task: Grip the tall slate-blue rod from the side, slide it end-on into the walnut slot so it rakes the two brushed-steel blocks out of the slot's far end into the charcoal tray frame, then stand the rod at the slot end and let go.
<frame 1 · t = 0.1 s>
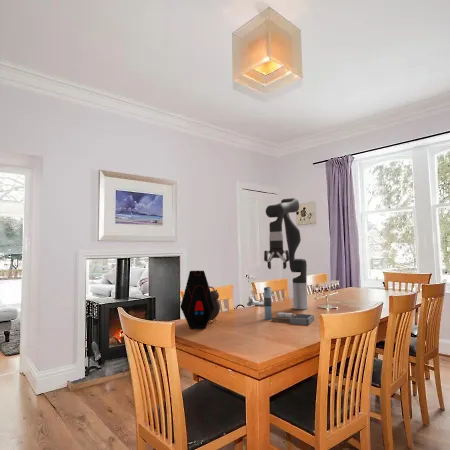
hand: (277, 268, 191), 29 cm above the table, tool pointing down, fingers open, 8 cm apart
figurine: (198, 328, 179), on the table
chip near: (281, 320, 193), on the table
rod: (268, 319, 197), on the table
chip far: (289, 320, 191), on the table
phone holder: (261, 305, 246), on the table
slot rails: (284, 320, 192), on the table
tray: (302, 321, 187), on the table
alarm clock: (207, 322, 193), on the table
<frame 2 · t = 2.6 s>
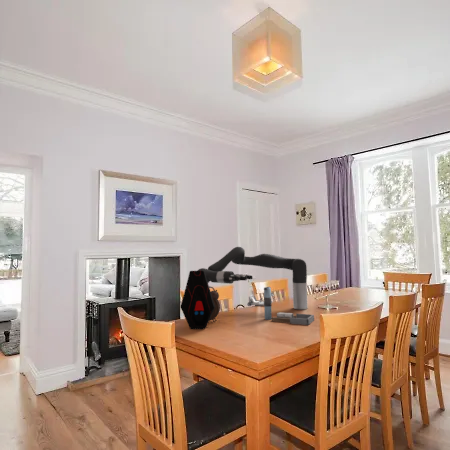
hand: (249, 277, 203), 23 cm above the table, tool horizontal, fingers open, 8 cm apart
nothing on the table moved.
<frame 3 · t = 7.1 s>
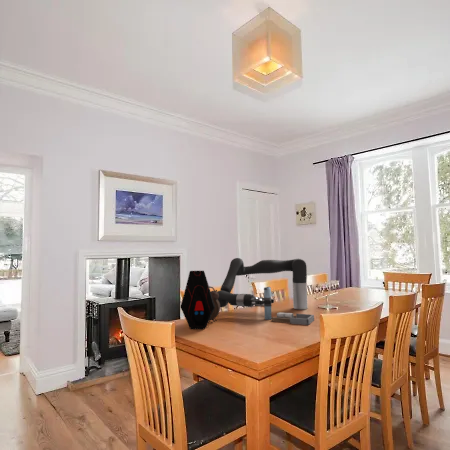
hand: (272, 301, 196), 10 cm above the table, tool horizontal, fingers closed on rod, 4 cm apart
rod: (268, 319, 197), on the table, touching gripper
everything else where it was.
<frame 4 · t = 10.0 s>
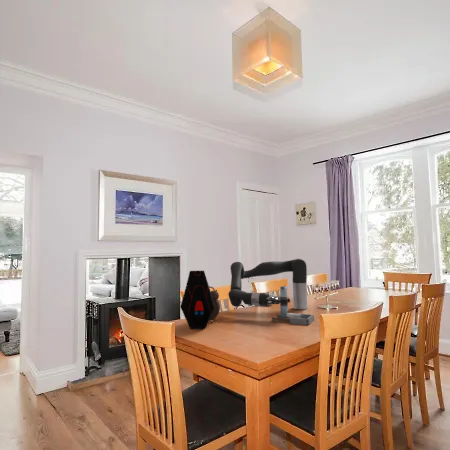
hand: (288, 301, 191), 11 cm above the table, tool horizontal, fingers closed on rod, 4 cm apart
chip near: (291, 320, 190), on the table, touching rod
rod: (284, 318, 192), point 1 cm above the table, touching chip near, gripper
chip far: (298, 321, 188), on the table
everything else where it was.
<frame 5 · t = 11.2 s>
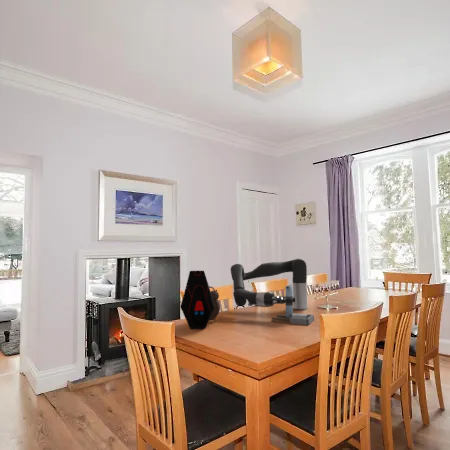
hand: (293, 300, 190), 11 cm above the table, tool horizontal, fingers closed on rod, 4 cm apart
chip near: (296, 321, 189), on the table, touching rod
rod: (289, 318, 191), point 1 cm above the table, touching chip near, gripper
chip far: (303, 322, 187), on the table
everything else where it was.
when the fingers open (10 cm above the table, at t = 12.2 s): rod stays where it is, on the table.
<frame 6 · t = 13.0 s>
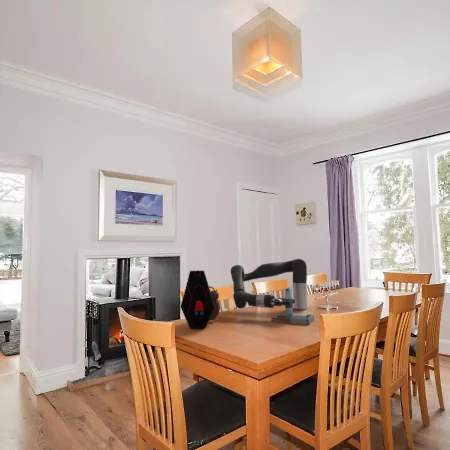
hand: (292, 302, 191), 10 cm above the table, tool horizontal, fingers open, 8 cm apart
chip near: (296, 321, 189), on the table
rod: (289, 320, 191), on the table
everything else where it was.
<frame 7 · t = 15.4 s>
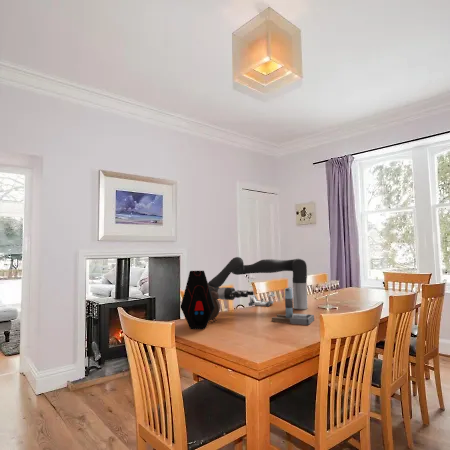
hand: (250, 294, 202), 14 cm above the table, tool horizontal, fingers open, 8 cm apart
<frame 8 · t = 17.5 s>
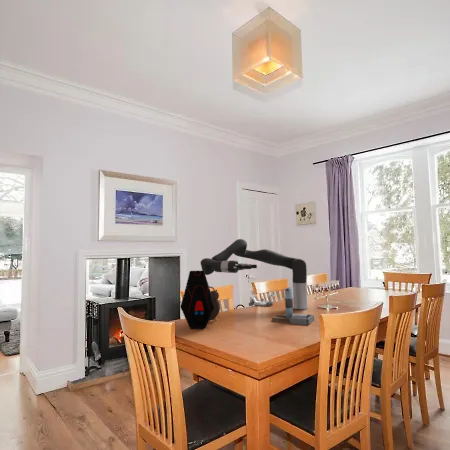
hand: (253, 266, 203), 30 cm above the table, tool horizontal, fingers open, 8 cm apart
at the end: chip far inside the target area (1.1 cm from its centre), on the table; chip near inside the target area (3.0 cm from its centre), on the table; rod tilted 0° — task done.
